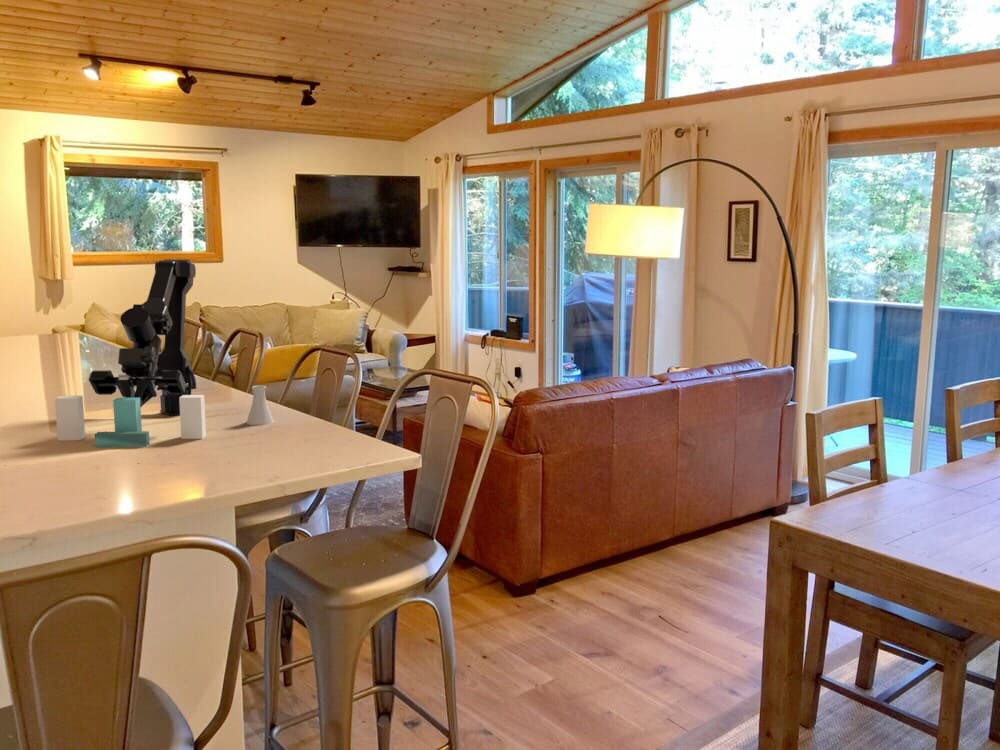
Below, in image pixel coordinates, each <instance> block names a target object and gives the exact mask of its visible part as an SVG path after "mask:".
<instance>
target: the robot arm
mask: <svg viewBox="0 0 1000 750" xmlns="http://www.w3.org/2000/svg"><path fill="white" fill-rule="evenodd" d="M194 278H196V265H195V264H194V263H192V261H191V260H190V259H186V258H185V259H182V258H181V259H178V258H177V259H176V258H175V259H173V258H172V259H170V258H169V259H168V258H164V259H163V260H157V261H156V262H155V263H154V276H153V279H152V282H151V285H150V286H151V287H150V289H149V292H148V296H147V299H146V301H145V302H143V303H141V304H139V303H137V304H135V303H134V304H133V305H132V307H131V308H129V309H127V310H125V311H124V312H123V313H122V314H121V315H120V318H119V319H120V322H121V324H122V327H123V329H124V331H125V333H126V337H127V338H128V340H129V342H132V346H131V347H130V348H129V347H127V348H126V347H123V348H119V350H118V357H117V358H118V360H117V364H119V365H121V369H120V370H121V372H122V373H123V374H122V373H121V374H118V375H117V376H114V374H113V373H112V371H111V370H107V369H106V370H105V369H103V370H101V369H100V370H98V369H97V370H92V371H91V372H90V373H89V377H88V382H89V383H90V386H91V387H92V389H93V391H94V393H95V394H97V395H98V396H99V395H101V396H105V395H113V394H115V393H116V392H117V390H118V391H119V393H120V395H121V397H122V398H140V406H141V408H142V407H143V406H144V405H145V404H146V403H147V402H148V401H150V400H152V398H156V397H157V395H158V393H157V391H161V395H160V397H159V398H160V401H159V402H160V410H159V412H160V413H162V414H165V415H168V416H180V403H179V397H181V396H182V395H192V390H196V389H197V380H196V375H195V372H194V371H193V367H192V366H191V359H190V358H189V357H188V355H187V353H186V351H185V332H186V331H185V328H186V327H185V326H186V307H187V306H186V302H187V301H186V300H187V298H186V297H187V295H188V293H189V291H190V290H191V289H192V288H193V286H194ZM160 336H164V348H163V350H162V339H161V337H160ZM135 389H136V390H135Z"/></svg>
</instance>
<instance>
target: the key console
mask: <svg viewBox="0 0 1000 750" xmlns="http://www.w3.org/2000/svg"><path fill="white" fill-rule="evenodd" d="M94 442H95V443H94V446H95V448H131V447H133V448H134V447H141V448H142V447H145V448H146V447H148V446H150V431H147V430H146V431H143V430H142V431H126V432H115V431H97V432H96V433H94Z"/></svg>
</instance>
